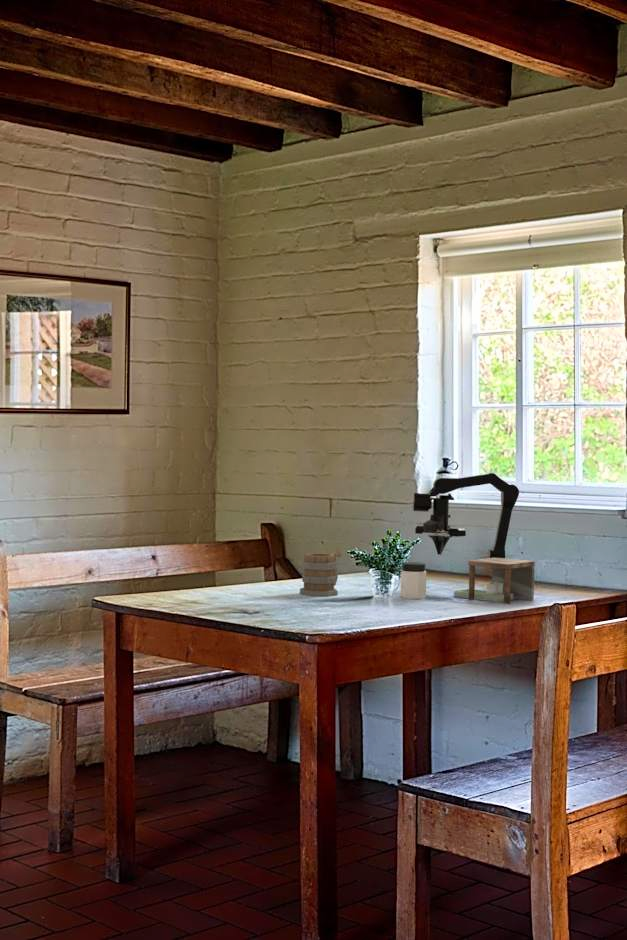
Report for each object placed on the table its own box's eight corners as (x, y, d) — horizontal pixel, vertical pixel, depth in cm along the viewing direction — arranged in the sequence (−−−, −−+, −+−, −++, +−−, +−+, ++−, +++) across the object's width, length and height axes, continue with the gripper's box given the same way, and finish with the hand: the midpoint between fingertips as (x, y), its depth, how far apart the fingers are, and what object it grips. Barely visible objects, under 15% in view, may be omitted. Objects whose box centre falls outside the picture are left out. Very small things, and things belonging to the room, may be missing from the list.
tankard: (322, 597, 440) (323, 554, 440) (293, 594, 448) (294, 551, 447) (355, 592, 456) (356, 550, 456) (327, 589, 464) (328, 548, 463)
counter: (493, 595, 458) (494, 557, 458) (533, 599, 448) (534, 561, 448) (467, 599, 444) (468, 560, 443) (508, 604, 434) (509, 564, 434)
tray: (469, 594, 459) (469, 578, 459) (513, 599, 448) (513, 583, 448) (454, 596, 452) (454, 580, 451) (498, 601, 440) (498, 585, 440)
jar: (397, 596, 449) (398, 562, 449) (418, 595, 451) (419, 561, 451) (406, 599, 440) (407, 564, 440) (428, 599, 443) (429, 564, 442)
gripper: (407, 511, 469) (406, 553, 469) (450, 514, 457) (449, 557, 457) (424, 510, 477) (422, 552, 478) (467, 513, 466) (465, 556, 466)
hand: (439, 554), depth 470 cm, fingers closed
